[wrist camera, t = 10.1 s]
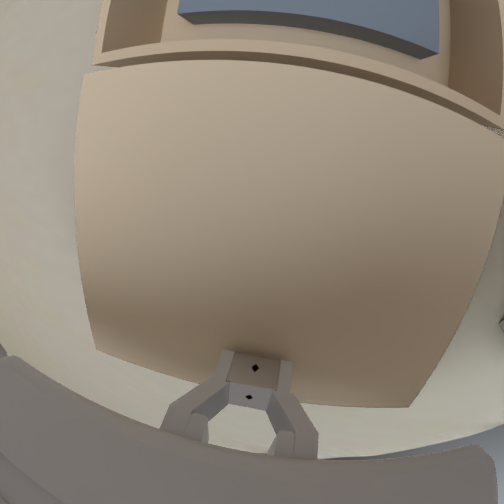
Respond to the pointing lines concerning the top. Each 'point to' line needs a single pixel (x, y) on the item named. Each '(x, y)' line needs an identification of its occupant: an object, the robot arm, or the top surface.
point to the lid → (280, 223)
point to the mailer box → (328, 42)
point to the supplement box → (502, 324)
